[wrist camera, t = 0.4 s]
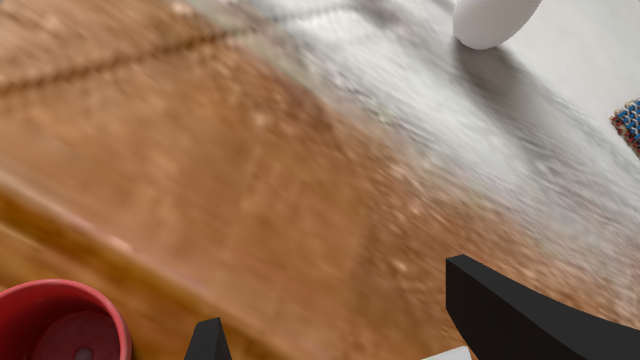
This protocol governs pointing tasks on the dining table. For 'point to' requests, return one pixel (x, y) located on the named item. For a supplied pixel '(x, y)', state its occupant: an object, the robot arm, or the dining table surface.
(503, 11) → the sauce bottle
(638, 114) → the woven mat
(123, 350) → the flower pot
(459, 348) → the stand plate
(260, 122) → the dining table surface
